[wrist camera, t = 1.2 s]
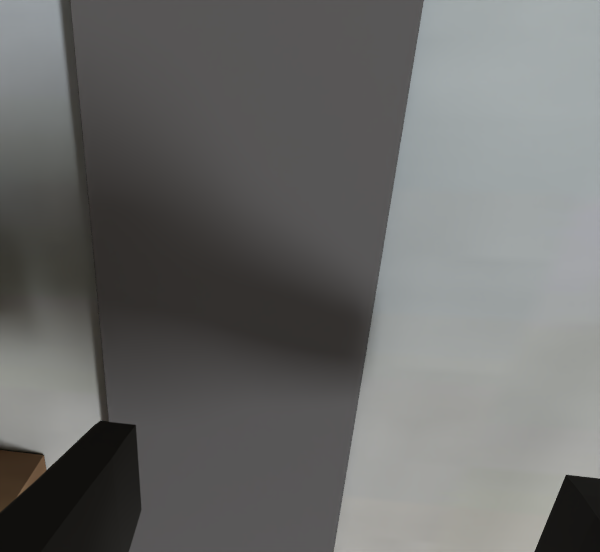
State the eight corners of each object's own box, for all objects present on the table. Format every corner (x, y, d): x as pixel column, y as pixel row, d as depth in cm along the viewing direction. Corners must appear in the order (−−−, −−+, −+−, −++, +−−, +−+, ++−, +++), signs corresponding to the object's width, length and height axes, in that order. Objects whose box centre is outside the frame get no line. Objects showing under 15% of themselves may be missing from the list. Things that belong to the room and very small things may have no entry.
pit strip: (322, 607, 17) (322, 617, 17) (128, 584, 17) (124, 593, 17) (436, -95, 9) (438, -97, 9) (67, -127, 9) (58, -131, 9)
